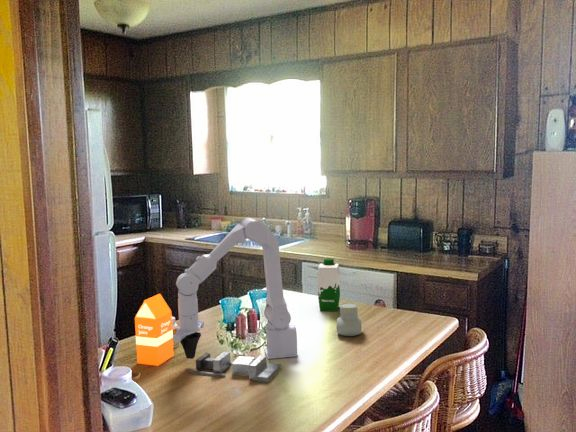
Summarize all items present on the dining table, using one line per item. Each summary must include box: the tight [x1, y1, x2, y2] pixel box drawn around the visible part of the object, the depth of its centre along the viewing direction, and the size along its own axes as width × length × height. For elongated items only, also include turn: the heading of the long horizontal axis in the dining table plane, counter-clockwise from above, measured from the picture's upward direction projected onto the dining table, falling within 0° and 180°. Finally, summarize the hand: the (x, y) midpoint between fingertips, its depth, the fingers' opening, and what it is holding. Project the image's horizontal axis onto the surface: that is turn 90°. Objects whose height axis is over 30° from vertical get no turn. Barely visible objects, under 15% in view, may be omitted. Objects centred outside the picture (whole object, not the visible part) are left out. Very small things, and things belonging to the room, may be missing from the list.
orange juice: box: [134, 293, 175, 366], centre depth 167 cm, size 8×9×20 cm
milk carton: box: [316, 257, 341, 312], centre depth 217 cm, size 9×9×20 cm
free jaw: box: [195, 351, 232, 374], centre depth 159 cm, size 8×7×4 cm
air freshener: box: [336, 303, 362, 337], centre depth 186 cm, size 11×8×10 cm
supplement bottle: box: [172, 316, 180, 349], centre depth 179 cm, size 5×5×10 cm
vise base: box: [188, 354, 282, 384], centre depth 156 cm, size 25×10×4 cm, turn 70°
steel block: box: [231, 355, 256, 377], centre depth 156 cm, size 5×6×4 cm
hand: (190, 357), depth 161 cm, fingers closed
